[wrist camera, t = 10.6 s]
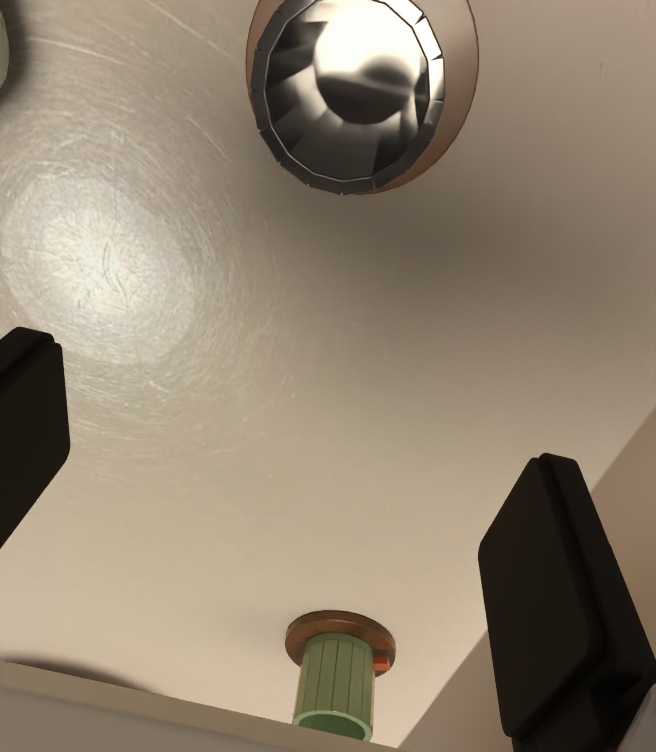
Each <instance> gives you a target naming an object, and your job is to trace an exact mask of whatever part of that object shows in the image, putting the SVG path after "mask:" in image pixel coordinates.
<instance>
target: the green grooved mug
mask: <svg viewBox="0 0 656 752" xmlns="http://www.w3.org/2000/svg"><path fill="white" fill-rule="evenodd" d="M375 670H387V671H389V670H390V663H389V659H388V657H375V653H374V650H373V649H372V647H371V646H370V645H369V644H368V643H367V642H365V641H364V640H362V639H360V638H358V637H355V636H352V635H349V634H344V633H335V632H331V633H322V634H318V635H315V636H313V637H312V638H310V639H309V640H308V641H307V642H306V644H305V646H304V652H303V656H302V662H301V668H300V675H299V681H298V687H297V694H296V700H295V706H294V713H293V719H292V725H297V726H301V727H306V728H310V729H314V730H319V731H323V732H328V733H332V734H336V735H341V736H345V737H349V738H354V739H358V740H363V741H367V742H369V741H370V739H371V737H372V732H373V709H374V686H375Z"/></svg>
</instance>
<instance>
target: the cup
mask: <svg viewBox="0 0 656 752" xmlns="http://www.w3.org/2000/svg"><path fill="white" fill-rule="evenodd" d="M9 59H10V55H9V39H8V33H7V28H6V23H5V20H4V17H3V14H2V11H1V8H0V89H1V87H2V85H3V83H4V81H5V79H6V75H7V70H8V65H9Z"/></svg>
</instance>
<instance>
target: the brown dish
mask: <svg viewBox="0 0 656 752" xmlns="http://www.w3.org/2000/svg"><path fill="white" fill-rule="evenodd" d="M331 632H335V633H344V634H349V635H352V636H355V637H358V638H360V639H362V640H364V641H365V642H367V643H368V644H369V645H370V646H371V647H372V649H373V650H374V653H375V657H388V659H389V663H390V668H391V667H392V665H393V663H394V661H395V643H394V640H393V638H392V636H391V635H390V634H389V632H388V631H387V630H386V629H385V628H383V627H382V626H381V625H379V624H378V623H376V622H374V621H372V620H370V619H368V618H366V617H363V616H360V615H356V614H353V613H348V612H340V611H322V612H315V613H311V614H308V615H305V616H303V617H300V618H299V619H297V620H296V621H294V622H293V623H292V624H291V626H290V627H289V629H288V631H287V635H286V640H285V648H286V651H287V653H288V655H289V657H290V658H291V659H292V660H293V661H294V662H295V663H296V664H297V665H298V666H300V667H301V662H302V656H303V652H304V646H305V644H306V642H307V641H308V640H309V639H310V638H312V637H313V636H315V635H318V634H322V633H331ZM385 672H387V670H375V677H378V676H380V675H382V674H384V673H385Z"/></svg>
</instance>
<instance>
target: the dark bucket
mask: <svg viewBox="0 0 656 752" xmlns="http://www.w3.org/2000/svg"><path fill="white" fill-rule="evenodd" d="M277 8H278V10H275V11H274V12H273V14H272V16H271V18H270V19H269V21H268V23H267V25H266V27H265V29H264V31H263V33H262V34H261V36H260V38H259V40H258V42H257V44H256V46H257V48H256V49H255V50H254V57H253V65H252V73H251V80H250V89H251V90H252V91H250V96H251V101H252V105H253V110H254V115H255V119H256V124H257V128H258V129H259V130H260V132H259V133H260V135H261V136H262V138H263V140H264V141H265V143H266V144H267V146H268V148H269V149H270V151H271V153H272V154H273V156H274V157H275V159H276V161H277V162H278V163H279V162H281V163H280V165H281V166H282V167H283V168H285V169H286V170H287V171H288V172H290V173H291V174H292V175H294V176H295V177H296V178H298V179H299V180H300V181H302V182H303V183H304V184H306V185H308V184H309V186H310V187H312V188H316V189H320V190H323V191H327V192H331V193H335V194H338V195H341V193H342V194H343V195H349V194H356V193H363V192H370V191H375V189H377V190H378V189H380V188H382V187H384V186H386V185H387V184H389V183H391V182H392V181H394V180H396V179H397V178H399V177H401V176H403V175H404V174H406V173H407V170H410V169H411V168H412V167H413V166H414V164H415V163H416V162H417V160H418V159H419V158H420V157H421V155H422V154H423V153H424V152H425V150H426V149H427V148H428V147H429V145H430V144H431V142H432V141H431V139H433V138H434V136H435V133H436V130H437V127H438V124H439V121H440V118H441V114H442V111H443V108H444V105H445V100H444V99H446V84H445V59H444V57H443V56H442V55H443V51H442V49H441V46H440V44H439V42H438V39H437V37H436V35H435V33H434V30H433V28H432V26H431V24H430V21H429V19H428V17H427V16H426V15H424V11H423V10H422V9H421V8H420V7H419V6H417V5H416V4H415V3H414V2H413V1H412V0H285V1H284V2H282V3H281V4H280V5H279V6H278V7H277ZM261 129H262V130H261Z"/></svg>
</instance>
